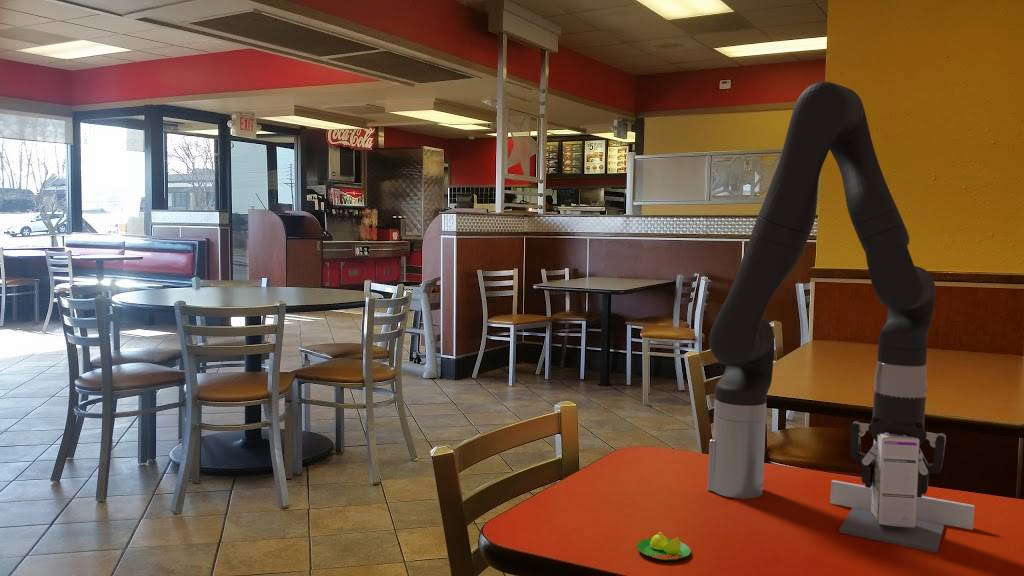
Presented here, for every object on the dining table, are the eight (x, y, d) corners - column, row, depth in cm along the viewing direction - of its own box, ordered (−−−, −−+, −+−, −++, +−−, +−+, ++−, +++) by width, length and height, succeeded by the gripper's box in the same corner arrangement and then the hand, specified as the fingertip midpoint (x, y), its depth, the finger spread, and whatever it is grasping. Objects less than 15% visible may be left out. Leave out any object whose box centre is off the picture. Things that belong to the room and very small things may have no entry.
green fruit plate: (699, 551, 121) (700, 533, 120) (673, 568, 115) (674, 549, 114) (653, 537, 126) (654, 520, 126) (626, 552, 120) (627, 534, 119)
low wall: (830, 503, 141) (831, 481, 141) (831, 501, 142) (832, 479, 142) (972, 530, 130) (974, 507, 129) (972, 529, 130) (974, 505, 130)
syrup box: (916, 528, 126) (922, 438, 124) (876, 524, 127) (882, 435, 126) (906, 515, 131) (911, 429, 130) (868, 512, 132) (873, 426, 131)
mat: (839, 532, 128) (839, 528, 128) (852, 510, 138) (852, 507, 138) (937, 553, 120) (937, 549, 120) (944, 528, 130) (944, 524, 130)
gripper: (847, 388, 128) (842, 488, 129) (948, 400, 120) (941, 507, 122) (855, 381, 134) (850, 476, 136) (952, 392, 127) (946, 493, 128)
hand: (893, 490), depth 129 cm, fingers closed on syrup box, 7 cm apart
